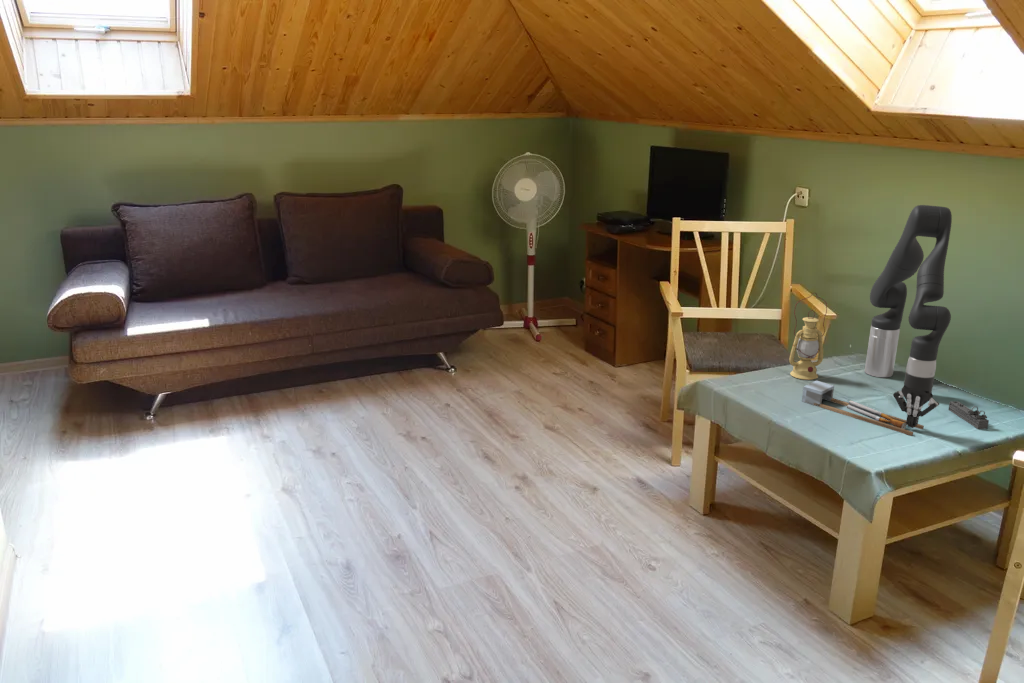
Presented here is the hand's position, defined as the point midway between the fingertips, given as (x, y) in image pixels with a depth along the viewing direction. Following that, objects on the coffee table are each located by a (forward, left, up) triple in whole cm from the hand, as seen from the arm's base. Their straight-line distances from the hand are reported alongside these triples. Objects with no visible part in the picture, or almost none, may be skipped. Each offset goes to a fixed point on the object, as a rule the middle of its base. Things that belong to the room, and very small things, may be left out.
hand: (911, 426), depth 243 cm
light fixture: (-21, +8, -2) cm, 22 cm away
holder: (0, -16, -1) cm, 16 cm away
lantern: (-18, -45, -1) cm, 48 cm away
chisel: (-1, -11, -2) cm, 11 cm away
